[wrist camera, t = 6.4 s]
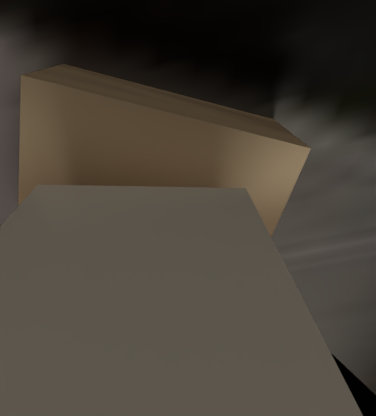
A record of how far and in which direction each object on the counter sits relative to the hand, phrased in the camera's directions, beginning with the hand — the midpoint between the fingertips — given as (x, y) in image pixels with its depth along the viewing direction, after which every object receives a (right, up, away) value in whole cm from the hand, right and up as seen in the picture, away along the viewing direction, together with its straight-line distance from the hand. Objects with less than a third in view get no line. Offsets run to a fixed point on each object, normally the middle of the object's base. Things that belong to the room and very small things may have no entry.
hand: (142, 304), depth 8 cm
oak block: (0, +3, +6) cm, 7 cm away
